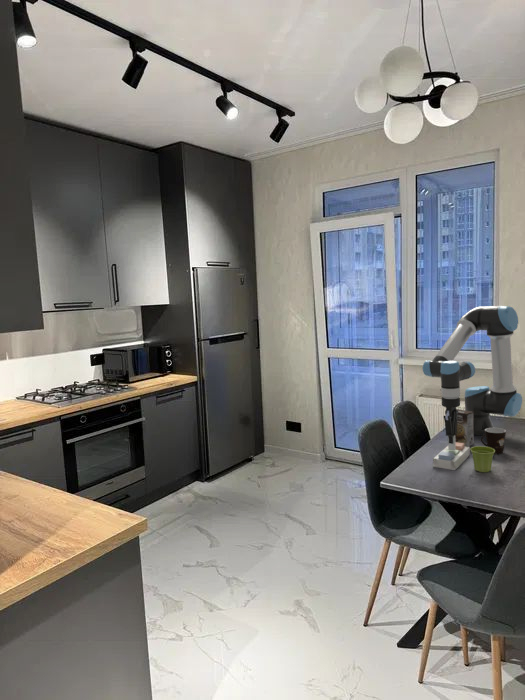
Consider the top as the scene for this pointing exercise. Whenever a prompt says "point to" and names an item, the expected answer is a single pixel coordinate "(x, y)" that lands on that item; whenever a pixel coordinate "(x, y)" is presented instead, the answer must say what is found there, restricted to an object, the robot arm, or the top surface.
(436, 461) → the button panel
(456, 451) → the sage button
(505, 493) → the top surface
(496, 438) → the coffee mug
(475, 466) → the plant pot
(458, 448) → the terracotta button
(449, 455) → the slate button
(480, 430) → the robot arm
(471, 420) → the coffee box
